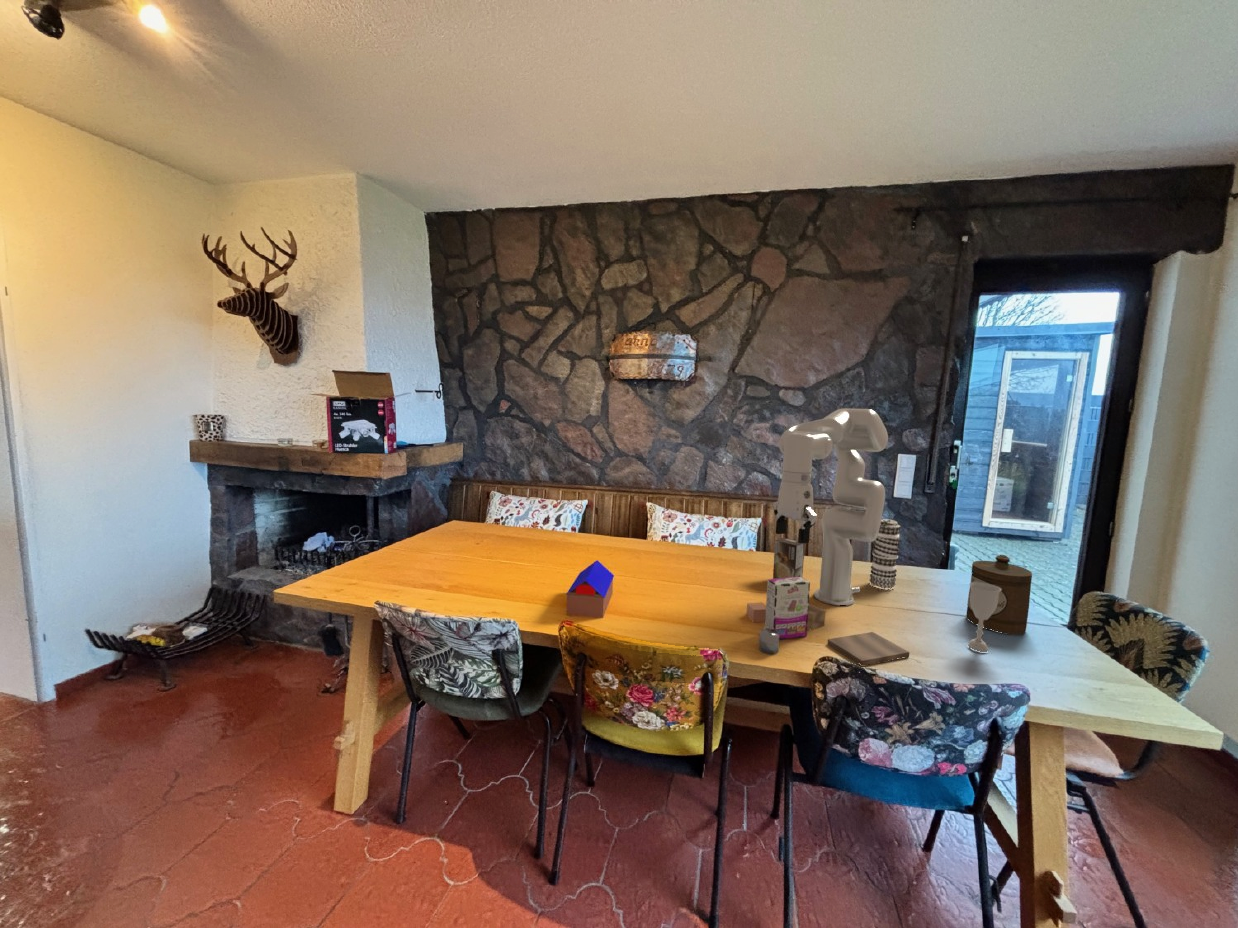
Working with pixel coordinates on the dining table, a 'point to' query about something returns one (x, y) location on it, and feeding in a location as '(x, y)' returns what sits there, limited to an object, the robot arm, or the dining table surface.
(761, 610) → the terracotta block
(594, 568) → the house
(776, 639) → the grey metal cylinder
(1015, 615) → the wooden container
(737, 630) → the dining table surface
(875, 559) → the decorative candle
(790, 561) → the coffee box
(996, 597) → the chalice
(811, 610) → the dark oak block
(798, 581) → the candy bar box
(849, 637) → the walnut board
